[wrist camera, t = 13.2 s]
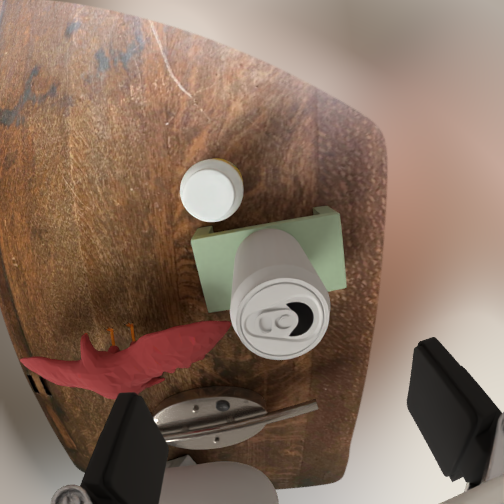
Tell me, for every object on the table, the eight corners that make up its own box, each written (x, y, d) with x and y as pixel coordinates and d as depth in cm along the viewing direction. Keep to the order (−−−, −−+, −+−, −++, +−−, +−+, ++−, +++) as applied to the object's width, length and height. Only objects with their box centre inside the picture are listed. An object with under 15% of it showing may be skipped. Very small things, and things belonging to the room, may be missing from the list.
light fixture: (353, 536, 22) (92, 549, 24) (320, 411, 43) (123, 450, 45) (340, 502, 19) (38, 512, 21) (302, 358, 40) (87, 407, 42)
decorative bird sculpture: (240, 311, 42) (206, 270, 29) (256, 380, 38) (226, 374, 25) (70, 350, 44) (1, 328, 30) (77, 407, 40) (4, 400, 26)
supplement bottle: (184, 168, 33) (162, 174, 23) (233, 151, 32) (229, 148, 23) (202, 216, 34) (187, 239, 25) (250, 199, 34) (253, 216, 25)
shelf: (326, 205, 34) (339, 213, 29) (334, 271, 36) (346, 288, 31) (197, 228, 34) (190, 240, 30) (212, 292, 37) (208, 313, 32)
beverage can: (305, 286, 31) (336, 357, 20) (239, 295, 31) (237, 371, 20) (299, 222, 29) (334, 265, 18) (229, 231, 30) (221, 280, 18)
